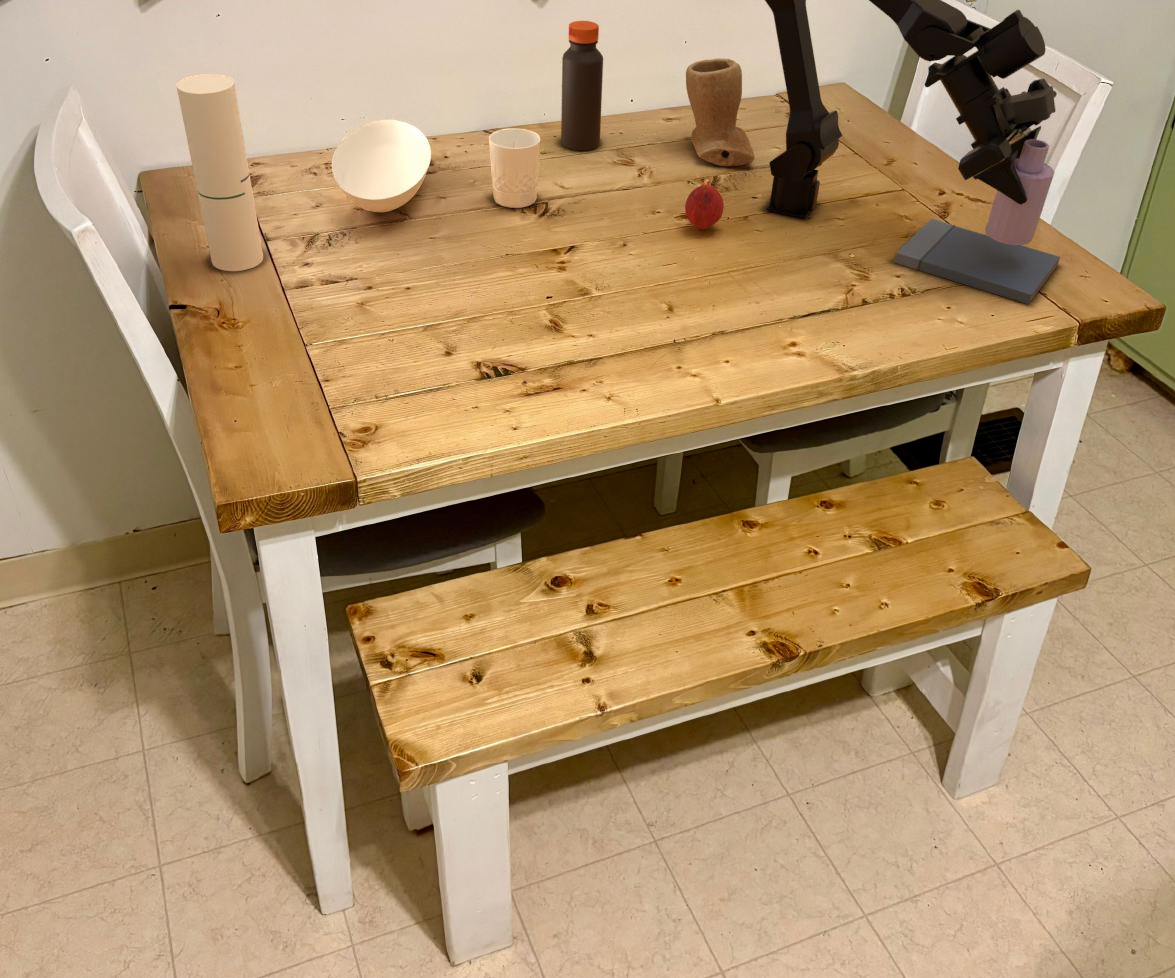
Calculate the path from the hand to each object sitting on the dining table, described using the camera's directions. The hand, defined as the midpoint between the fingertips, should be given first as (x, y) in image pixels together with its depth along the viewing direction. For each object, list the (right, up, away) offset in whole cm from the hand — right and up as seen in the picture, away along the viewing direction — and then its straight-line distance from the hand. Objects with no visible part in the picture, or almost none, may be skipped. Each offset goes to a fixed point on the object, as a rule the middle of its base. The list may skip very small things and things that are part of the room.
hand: (1031, 194), depth 156 cm
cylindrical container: (-112, -8, +4) cm, 112 cm away
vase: (-1, -5, +5) cm, 7 cm away
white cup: (-73, +5, +22) cm, 77 cm away
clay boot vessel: (-40, +17, +39) cm, 58 cm away
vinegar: (-63, +19, +39) cm, 77 cm away
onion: (-44, -1, +16) cm, 47 cm away
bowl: (-94, +6, +22) cm, 97 cm away
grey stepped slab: (-4, -8, +10) cm, 13 cm away
